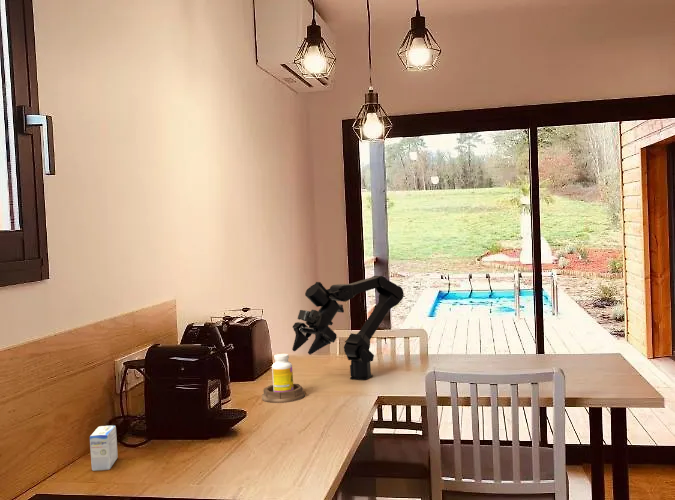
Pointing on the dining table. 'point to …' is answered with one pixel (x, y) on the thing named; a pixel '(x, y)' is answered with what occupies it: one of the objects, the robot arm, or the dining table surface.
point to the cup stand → (283, 394)
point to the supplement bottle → (282, 373)
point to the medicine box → (103, 448)
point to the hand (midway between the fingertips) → (301, 352)
